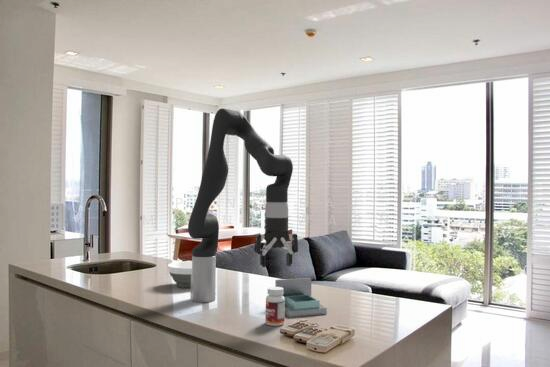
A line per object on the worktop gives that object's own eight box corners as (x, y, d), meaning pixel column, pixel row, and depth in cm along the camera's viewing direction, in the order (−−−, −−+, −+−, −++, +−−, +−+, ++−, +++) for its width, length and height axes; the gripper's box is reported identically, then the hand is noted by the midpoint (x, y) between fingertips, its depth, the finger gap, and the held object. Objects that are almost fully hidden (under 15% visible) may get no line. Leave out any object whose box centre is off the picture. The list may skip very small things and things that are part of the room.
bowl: (158, 288, 192) (158, 266, 192) (183, 280, 210) (183, 260, 210) (196, 292, 185) (196, 269, 185) (219, 283, 203) (219, 262, 203)
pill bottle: (261, 323, 141) (261, 288, 141) (273, 319, 145) (274, 285, 146) (276, 327, 137) (276, 291, 137) (288, 323, 141) (288, 288, 142)
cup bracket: (289, 317, 148) (289, 287, 148) (275, 307, 161) (275, 279, 162) (326, 313, 153) (326, 285, 153) (309, 304, 166) (310, 277, 166)
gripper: (259, 217, 136) (259, 269, 136) (301, 216, 141) (301, 267, 141) (252, 215, 143) (251, 265, 143) (292, 215, 148) (292, 263, 148)
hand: (276, 266), depth 142 cm, fingers open, 8 cm apart
